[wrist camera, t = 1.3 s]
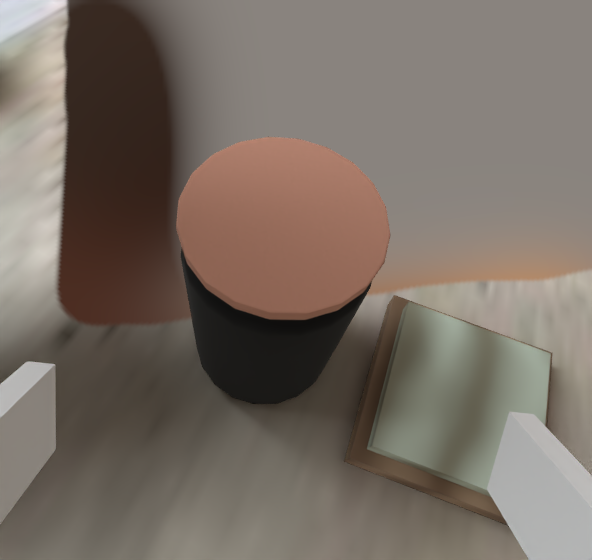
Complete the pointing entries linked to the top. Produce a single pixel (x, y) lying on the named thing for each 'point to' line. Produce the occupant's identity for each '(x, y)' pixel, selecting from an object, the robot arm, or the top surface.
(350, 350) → the top surface
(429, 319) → the plinth
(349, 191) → the coffee jar
